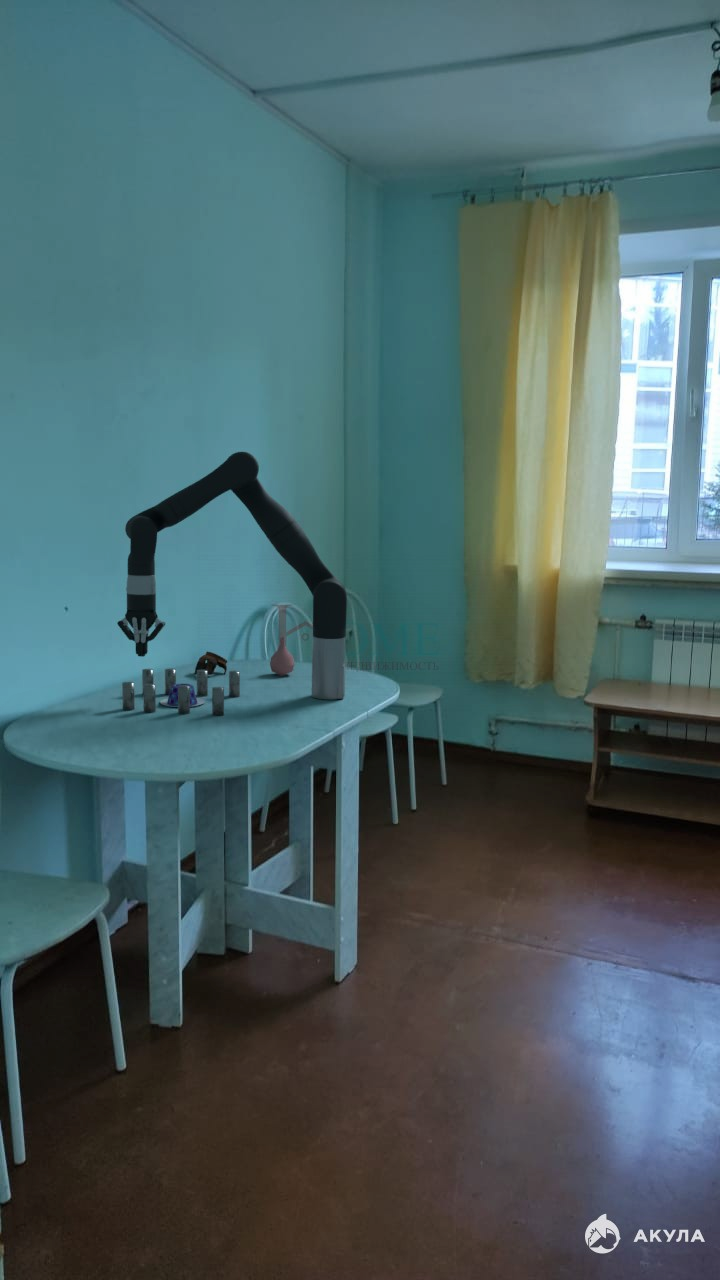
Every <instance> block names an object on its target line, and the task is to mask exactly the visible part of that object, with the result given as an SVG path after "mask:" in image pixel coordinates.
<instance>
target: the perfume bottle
mask: <svg viewBox="0 0 720 1280" xmlns="http://www.w3.org/2000/svg"><path fill="white" fill-rule="evenodd" d="M269 661H270V662H269V666H270V667H269V668H270V669H271V672H273V673H274V674H277V675H278V676H280V677H285V676H286V675H287V674H290V673H292V672H293V669H294V667H295V659H294V656H293V655H292V654H291V653H290V652H289V650H288V648H287V647H286V637H285V636H280V637H279V646H278V648H277V650H276V651H275V652H274V653H273V654H272V655H271V657H270V660H269Z"/></svg>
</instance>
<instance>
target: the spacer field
mask: <svg viewBox="0 0 720 1280" xmlns="http://www.w3.org/2000/svg"><path fill="white" fill-rule="evenodd" d="M141 675H142V686H141V687H142V695H143V712H144V713H147V714H149V713H150V714H151V713H155V712H156V711H157V710H156V709H157V708H156V684H155V683H154V669H153V668H143V669H142V670H141ZM208 676H209V675H208V670H197V675H196V697H207V696H208V691H209V690H208V688H209V687H208V683H209V679H208V678H209V677H208ZM174 684H177V669H176V668H165V669H164V695H165V696H166V695H167V696H169V693H170V689H171V687H172V686H173V685H174ZM121 686H122V687H121V688H122V693H121V694H122V710H123V711H133V710H135V682H134V681H123V682H122V685H121ZM240 686H241V671H240V670H229V671H228V697H230V698H239V697H240V696H241V694H240V693H241V690H240V689H241V688H240ZM211 689H212V691H211V693H212V694H211V697H212V699H211V715H212V716H213V717H214V716H215V717H222V716H225V687H224V686H215V687H214V686H213V687H212V688H211ZM177 713H178V714H179V715H187V714H190V713H191V707H190V686H189V685H180V686H178V707H177Z"/></svg>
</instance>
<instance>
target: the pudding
mask: <svg viewBox="0 0 720 1280" xmlns="http://www.w3.org/2000/svg"><path fill="white" fill-rule="evenodd" d="M180 685H189V686H190V708H192V707H197V706H200V705H203V704H204V703H206V700H205V699H203V698H200V697H197V694H196V692H195V688H194V685H192V684H190V683H176V684H174V685H173V686H172V687H171V689H170V693H169V695H168V697H167V698H163V699H161V700H160V702H159V703H160V704H161V705H163V706H165V707H170V708H171V707H172V708H178V686H180Z"/></svg>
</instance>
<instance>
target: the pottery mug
mask: <svg viewBox="0 0 720 1280" xmlns="http://www.w3.org/2000/svg"><path fill="white" fill-rule="evenodd" d="M227 663H228V660H227V659H226V658H224V657H223V656H221V655H218V654H217V653H215V652H212V651H206V652H205V654H203V655H202V656H200V657H199V659H198V661H197V663H196V666H195V668H194V675H196V676H197V670H208V676H211V675H214V672H215V669H216V668H217V666H218V667H219V668H221V669H223V670H224V672H223V674H224V675H226V674H227V670H228V666H227Z"/></svg>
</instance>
